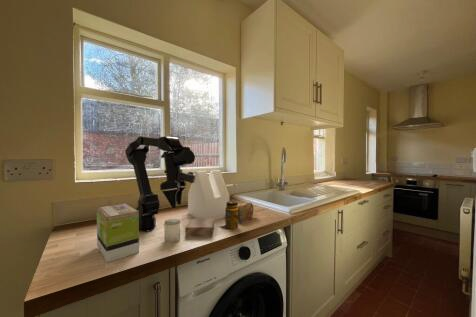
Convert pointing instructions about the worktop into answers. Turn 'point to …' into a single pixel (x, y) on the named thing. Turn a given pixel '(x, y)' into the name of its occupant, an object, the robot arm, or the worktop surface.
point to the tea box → (117, 231)
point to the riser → (199, 228)
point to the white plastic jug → (208, 195)
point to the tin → (245, 212)
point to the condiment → (231, 217)
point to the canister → (172, 231)
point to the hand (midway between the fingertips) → (176, 206)
